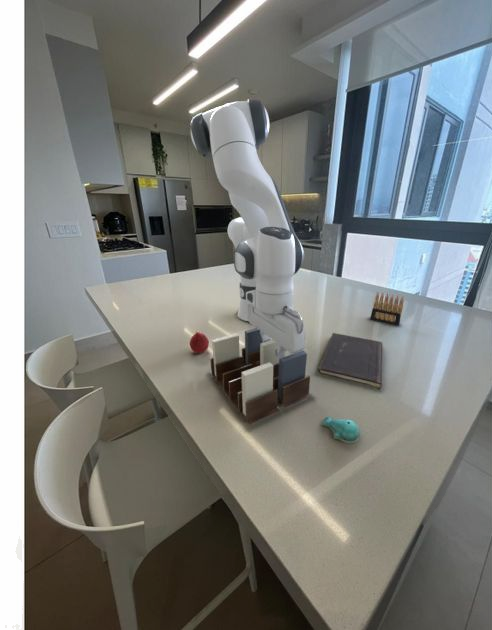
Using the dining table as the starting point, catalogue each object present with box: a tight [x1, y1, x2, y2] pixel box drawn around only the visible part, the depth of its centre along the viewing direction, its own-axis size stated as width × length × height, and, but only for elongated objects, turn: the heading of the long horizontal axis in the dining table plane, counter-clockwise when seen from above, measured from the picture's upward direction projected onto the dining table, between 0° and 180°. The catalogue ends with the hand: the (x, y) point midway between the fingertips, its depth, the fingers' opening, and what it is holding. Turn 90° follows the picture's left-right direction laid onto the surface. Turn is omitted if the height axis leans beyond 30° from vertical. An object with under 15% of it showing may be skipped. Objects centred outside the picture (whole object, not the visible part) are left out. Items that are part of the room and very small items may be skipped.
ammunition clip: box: [369, 291, 405, 327], centre depth 102 cm, size 11×2×12 cm, turn 55°
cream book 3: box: [260, 339, 287, 365], centre depth 68 cm, size 7×2×11 cm, turn 122°
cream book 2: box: [242, 362, 273, 416], centre depth 57 cm, size 7×2×11 cm, turn 122°
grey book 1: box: [244, 327, 263, 365], centre depth 74 cm, size 7×2×11 cm, turn 122°
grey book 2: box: [278, 350, 308, 401], centre depth 62 cm, size 7×2×11 cm, turn 122°
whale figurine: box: [321, 416, 360, 444], centre depth 53 cm, size 6×7×4 cm
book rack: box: [209, 347, 312, 426], centre depth 67 cm, size 18×22×6 cm
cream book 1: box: [211, 332, 241, 376], centre depth 69 cm, size 7×2×11 cm, turn 122°
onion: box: [189, 330, 210, 354], centre depth 81 cm, size 6×6×8 cm
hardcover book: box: [318, 332, 383, 390], centre depth 79 cm, size 16×23×2 cm
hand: (273, 350), depth 67 cm, fingers open, 4 cm apart
